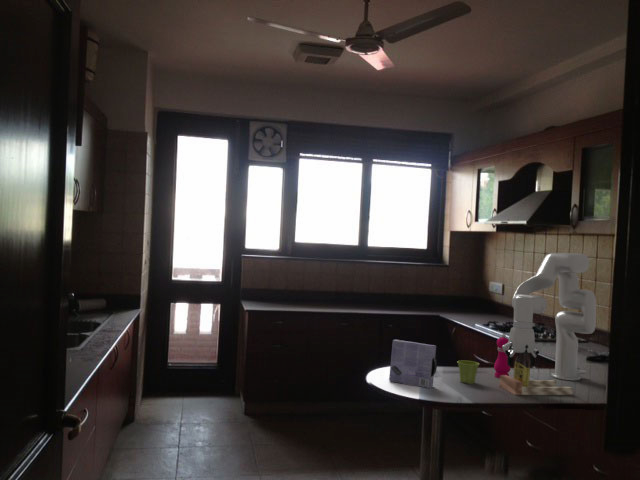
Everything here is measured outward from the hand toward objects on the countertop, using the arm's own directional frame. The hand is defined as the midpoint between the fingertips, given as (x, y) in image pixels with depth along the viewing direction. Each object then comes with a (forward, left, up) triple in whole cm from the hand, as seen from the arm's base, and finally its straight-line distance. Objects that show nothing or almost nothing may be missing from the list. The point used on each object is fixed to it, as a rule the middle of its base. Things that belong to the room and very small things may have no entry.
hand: (520, 366), depth 234 cm
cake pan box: (+44, -10, -11) cm, 46 cm away
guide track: (-7, 0, -10) cm, 13 cm away
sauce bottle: (-1, 0, -11) cm, 11 cm away
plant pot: (+17, -14, -11) cm, 24 cm away
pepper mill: (-5, -24, -11) cm, 27 cm away
